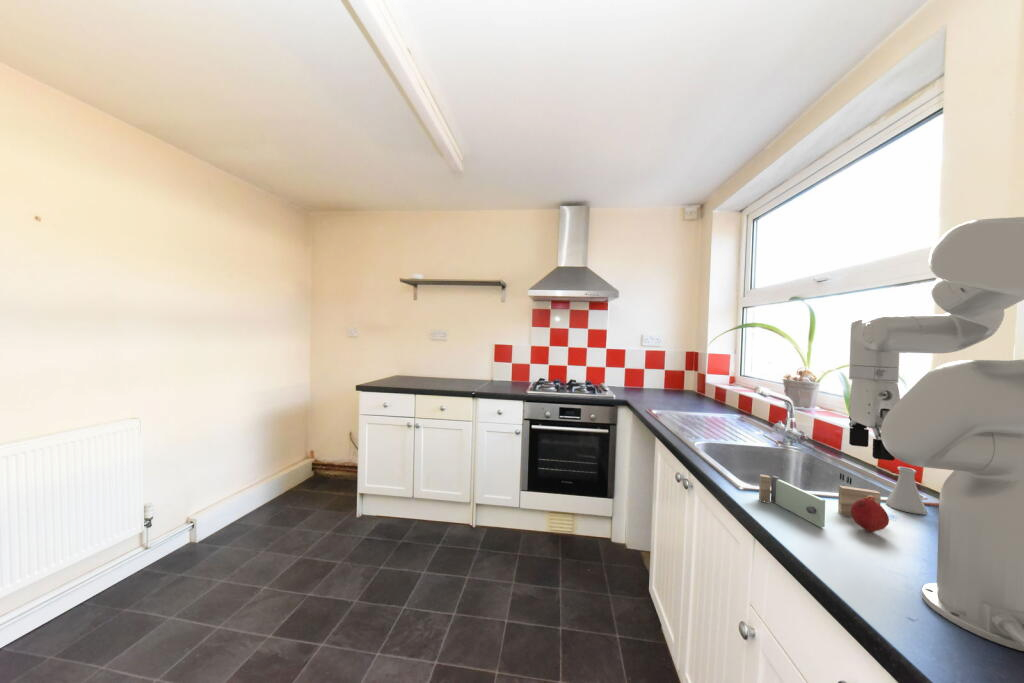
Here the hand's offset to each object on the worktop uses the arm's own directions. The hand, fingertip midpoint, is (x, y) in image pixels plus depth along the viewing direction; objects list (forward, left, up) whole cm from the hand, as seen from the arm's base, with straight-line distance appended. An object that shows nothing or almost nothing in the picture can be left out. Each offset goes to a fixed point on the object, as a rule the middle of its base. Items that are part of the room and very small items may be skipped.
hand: (870, 452), depth 77 cm
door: (+3, +12, -17) cm, 21 cm away
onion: (0, 0, -18) cm, 18 cm away
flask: (+19, -15, -18) cm, 30 cm away
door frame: (+8, +6, -17) cm, 20 cm away
